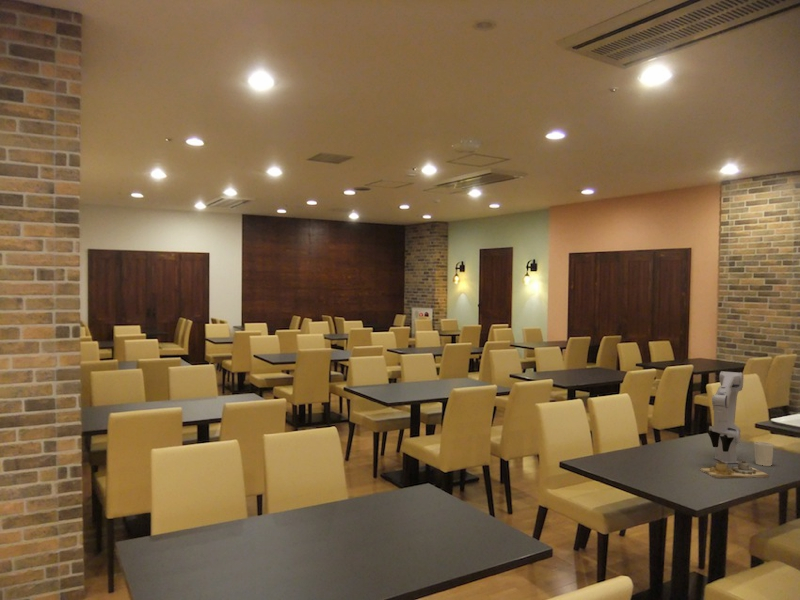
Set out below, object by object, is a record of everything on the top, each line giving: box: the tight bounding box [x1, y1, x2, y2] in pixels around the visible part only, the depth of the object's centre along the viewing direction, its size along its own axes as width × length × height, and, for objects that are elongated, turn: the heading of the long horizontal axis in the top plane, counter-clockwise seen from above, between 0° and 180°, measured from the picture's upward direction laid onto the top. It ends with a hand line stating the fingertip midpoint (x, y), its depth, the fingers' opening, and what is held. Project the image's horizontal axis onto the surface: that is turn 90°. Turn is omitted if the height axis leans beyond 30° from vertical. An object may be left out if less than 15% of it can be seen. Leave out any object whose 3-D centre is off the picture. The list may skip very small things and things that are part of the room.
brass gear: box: [709, 461, 734, 475], centre depth 264 cm, size 10×10×4 cm
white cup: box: [753, 441, 774, 467], centre depth 280 cm, size 8×8×10 cm
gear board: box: [699, 459, 770, 479], centre depth 265 cm, size 12×25×6 cm, turn 95°
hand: (720, 449), depth 272 cm, fingers open, 7 cm apart
